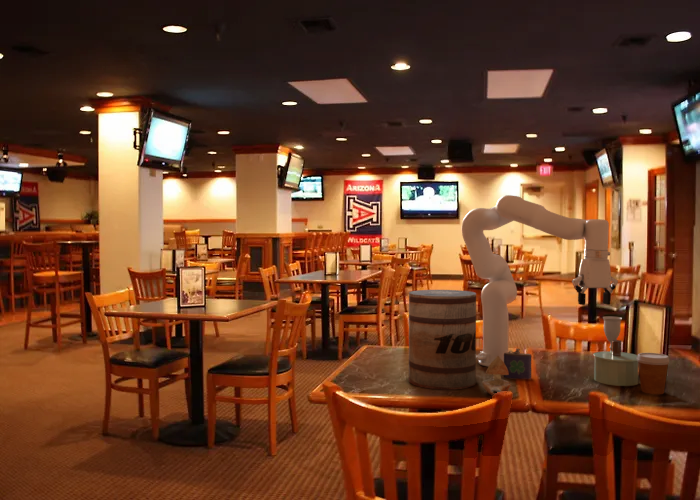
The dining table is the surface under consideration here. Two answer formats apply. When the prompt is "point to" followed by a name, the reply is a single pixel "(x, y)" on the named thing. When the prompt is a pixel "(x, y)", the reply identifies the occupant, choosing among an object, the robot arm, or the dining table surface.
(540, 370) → the dining table surface
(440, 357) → the barrel
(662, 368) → the disposable coffee cup
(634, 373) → the canister
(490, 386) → the oil lamp
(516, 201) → the robot arm
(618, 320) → the chalice
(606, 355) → the lid
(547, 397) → the dining table surface
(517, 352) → the flask
